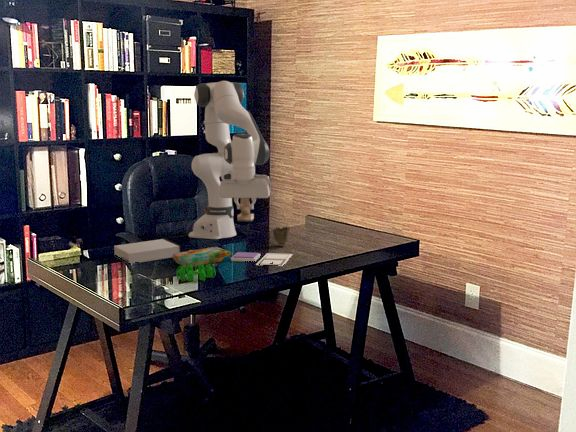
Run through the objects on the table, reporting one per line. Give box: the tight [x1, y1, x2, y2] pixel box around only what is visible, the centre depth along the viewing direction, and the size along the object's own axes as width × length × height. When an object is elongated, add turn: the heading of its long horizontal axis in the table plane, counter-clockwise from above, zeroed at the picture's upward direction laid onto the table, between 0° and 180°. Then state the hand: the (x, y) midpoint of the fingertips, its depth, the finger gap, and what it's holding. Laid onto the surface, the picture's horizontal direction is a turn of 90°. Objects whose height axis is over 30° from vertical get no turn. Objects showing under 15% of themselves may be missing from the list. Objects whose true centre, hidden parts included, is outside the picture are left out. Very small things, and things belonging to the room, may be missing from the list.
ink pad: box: [230, 251, 262, 263], centre depth 265 cm, size 10×9×2 cm
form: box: [255, 252, 294, 267], centre depth 263 cm, size 11×19×1 cm, turn 168°
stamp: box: [237, 198, 255, 222], centre depth 262 cm, size 6×4×10 cm
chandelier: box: [176, 259, 217, 283], centre depth 239 cm, size 15×15×7 cm
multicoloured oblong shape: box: [172, 246, 232, 268], centre depth 261 cm, size 12×5×20 cm
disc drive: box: [113, 237, 182, 264], centre depth 273 cm, size 18×22×5 cm
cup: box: [272, 226, 290, 248], centre depth 286 cm, size 8×7×8 cm
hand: (245, 209), depth 262 cm, fingers closed on stamp, 4 cm apart
